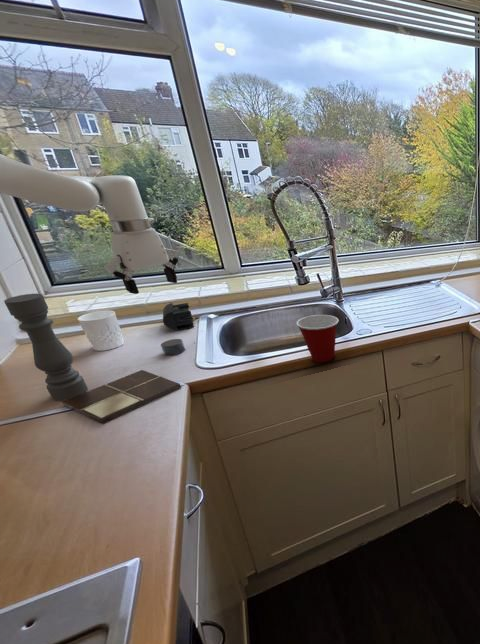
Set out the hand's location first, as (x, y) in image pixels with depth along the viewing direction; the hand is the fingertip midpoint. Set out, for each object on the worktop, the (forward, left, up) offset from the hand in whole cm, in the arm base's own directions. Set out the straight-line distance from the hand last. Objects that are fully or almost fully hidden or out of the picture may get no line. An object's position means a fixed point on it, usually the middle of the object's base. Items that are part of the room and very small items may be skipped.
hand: (154, 287), depth 113 cm
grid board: (-20, -15, -20) cm, 32 cm away
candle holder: (-25, -2, -20) cm, 32 cm away
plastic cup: (+15, -43, -20) cm, 50 cm away
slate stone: (-1, -1, -20) cm, 20 cm away
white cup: (-7, +20, -20) cm, 29 cm away
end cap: (+11, +17, -20) cm, 28 cm away
